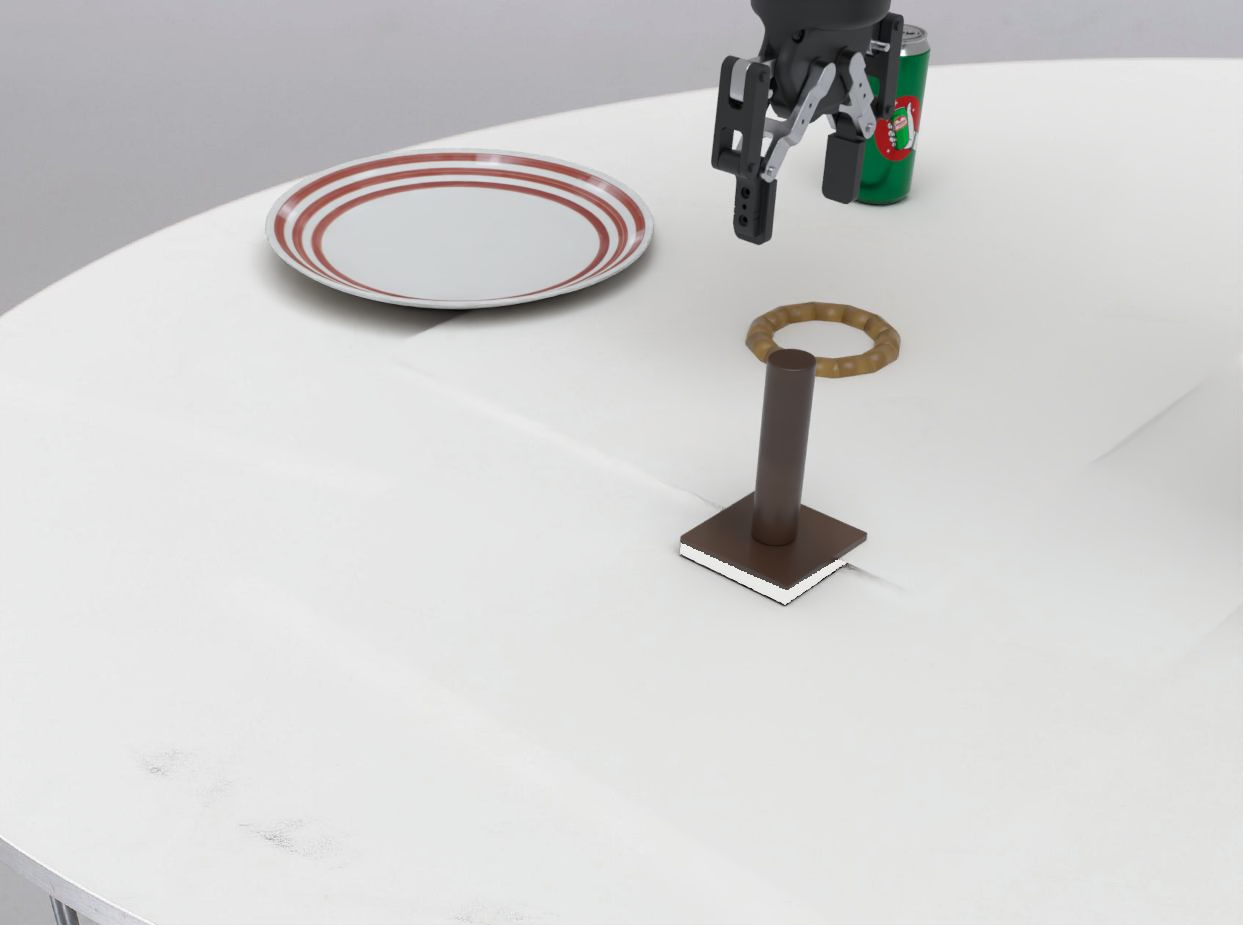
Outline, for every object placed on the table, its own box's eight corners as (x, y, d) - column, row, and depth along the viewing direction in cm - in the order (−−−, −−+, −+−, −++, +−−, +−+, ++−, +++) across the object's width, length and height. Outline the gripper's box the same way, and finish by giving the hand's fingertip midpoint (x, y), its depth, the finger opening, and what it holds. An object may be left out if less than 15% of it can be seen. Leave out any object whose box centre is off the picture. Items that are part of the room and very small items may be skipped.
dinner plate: (711, 223, 121) (714, 178, 119) (545, 374, 102) (545, 325, 100) (395, 166, 131) (392, 124, 129) (192, 295, 112) (185, 248, 110)
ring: (805, 308, 109) (807, 285, 108) (927, 351, 104) (931, 328, 103) (715, 355, 104) (717, 332, 103) (839, 403, 99) (842, 379, 98)
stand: (759, 504, 90) (777, 315, 83) (865, 551, 86) (893, 357, 79) (678, 555, 86) (690, 360, 79) (785, 606, 82) (807, 407, 75)
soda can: (849, 179, 127) (868, 18, 120) (914, 186, 126) (937, 24, 119) (837, 202, 124) (856, 38, 116) (903, 210, 122) (927, 44, 115)
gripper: (806, -42, 79) (774, 274, 90) (964, -94, 87) (918, 202, 97) (687, -68, 83) (670, 237, 94) (848, -115, 91) (816, 171, 102)
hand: (797, 219), depth 96 cm, fingers open, 8 cm apart
